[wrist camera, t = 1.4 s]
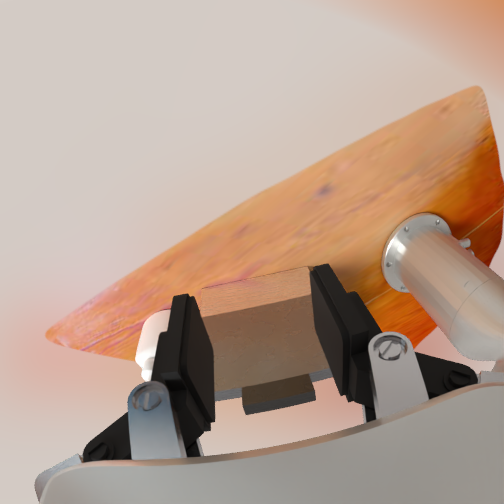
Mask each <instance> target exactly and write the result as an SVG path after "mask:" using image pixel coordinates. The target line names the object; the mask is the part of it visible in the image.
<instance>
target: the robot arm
mask: <svg viewBox="0 0 504 504" xmlns="http://www.w3.org/2000/svg"><path fill="white" fill-rule="evenodd" d="M469 246H470V240H469V239H468V238H465V239H461V240H457V239H456V238H455V237H453V236H452V234H451V230H450V228H449V226H448V225H447V223H446V222H445V221H444V220H443V219H442V218H440V217H439V216H437V215H435V214H432V213H420V214H416V215H413V216H411V217H409V218H408V219H406V220H405V221H403V222H402V223H401V224H400V225H399V226H398V227H397V228H396V229H395V230H394V231H393V233H392V234H391V235H390V237H389V239H388V241H387V243H386V245H385V247H384V250H383V254H382V262H381V266H382V272H383V275H384V278H385V279H386V281H387V282H388V283H389V285H390V286H391V287H392V288H394V289H395V290H397V291H400V292H406V293H409V292H410V293H411V294H412V295H413V296H414V298H415V299H416V300H417V301H418V302H419V303H420V305H421V306H422V307H423V308H424V309H425V311H426V312H427V313H428V314H429V315H430V317H431V318H432V319H433V320H434V322H435V323H436V324H437V325H438V327H439V328H440V329H441V330H442V332H443V333H444V334H445V335H446V336H447V338H448V339H449V340H450V342H451V343H452V344H453V345H454V347H455V348H456V349H457V350H458V351H459V353H461V354H462V355H463V356H465V357H467V358H469V359H472V360H477V361H496V364H495V366H494V368H493V369H492V371H491V372H489V371H481V372H480V374H476V373H475V372H474V370H472V369H471V368H470V367H468V366H466V365H463V364H460V363H455V362H452V361H447V360H444V359H440V358H436V357H432V356H428V355H425V354H421V353H417V352H414V349H413V346H412V344H411V342H410V340H409V339H408V338H407V337H406V336H404V335H402V334H400V333H397V332H384V333H382V331H381V329H380V328H379V326H378V325H377V323H376V321H375V320H374V318H373V317H372V315H371V314H370V312H369V310H368V309H367V307H366V306H365V304H364V303H363V301H362V300H361V298H360V297H359V295H358V294H357V292H355V291H354V292H350V293H346V291H345V290H344V288H343V286H342V285H341V283H340V281H339V280H338V278H337V277H336V275H335V273H334V272H333V270H332V269H331V267H330V265H329V264H323V265H319V266H315V267H314V271H310V272H309V276H310V286H311V296H312V306H313V317H314V326H315V331H316V334H317V336H318V339H319V342H320V344H321V347H322V349H323V352H324V354H325V357H326V359H327V362H328V365H329V367H330V370H331V372H332V375H333V378H334V380H335V383H336V386H337V388H338V391H339V393H340V395H341V396H343V395H346V398H347V400H348V402H351V401H354V402H356V403H359V404H362V409H363V418H364V424H361V425H359V426H355V427H352V428H348V429H345V430H342V431H338V432H334V433H331V434H327V435H323V436H319V437H315V438H311V439H307V440H302V441H298V442H293V443H289V444H284V445H279V446H274V447H269V448H263V449H257V450H250V451H244V452H237V453H230V454H221V455H212V456H204V454H203V451H202V447H201V444H200V441H199V437H200V436H201V435H202V434H203V433H204V431H211V422H215V392H214V351H213V347H212V344H211V341H210V339H209V336H208V333H207V330H206V328H205V325H204V322H203V319H202V317H201V314H200V311H199V308H198V305H197V303H196V300H195V297H194V296H191V297H190V296H189V294H182V295H177V296H174V297H173V301H172V306H171V311H170V317H169V322H168V328H167V331H164V332H161V333H160V334H159V337H158V342H157V348H156V353H155V358H154V364H153V369H152V375H151V381H147V382H144V383H142V384H139V385H138V386H137V387H135V388H134V389H133V390H132V392H131V393H130V395H129V397H128V402H127V403H128V412H127V413H125V414H124V415H123V416H122V417H120V418H119V419H118V420H117V421H115V422H114V423H113V424H112V425H110V426H109V427H108V428H106V429H105V430H104V431H103V432H101V433H100V434H99V435H97V436H96V437H95V438H94V439H92V440H91V441H90V442H89V443H88V444H87V445H86V447H85V449H84V452H83V455H81V456H80V455H79V454H76V455H74V456H73V457H71V458H69V459H67V460H65V461H63V462H61V463H59V464H57V465H56V466H53V467H52V468H50V469H48V470H46V471H44V472H42V473H41V474H39V475H38V477H37V478H36V481H35V491H36V494H37V497H38V501H39V504H504V280H503V279H502V278H501V277H500V276H498V275H497V274H496V273H495V272H494V271H492V270H491V269H490V268H489V267H488V266H486V265H485V264H484V263H483V262H481V261H480V260H479V259H478V258H476V257H475V256H474V252H473V251H472V250H471V249H469V250H466V249H465V248H467V247H469Z"/></svg>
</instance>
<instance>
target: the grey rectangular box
mask: <svg viewBox="0 0 504 504" xmlns="http://www.w3.org/2000/svg"><path fill="white" fill-rule="evenodd" d="M309 272H310V271H309V269H308V267H307V266H306V267H301V268H297V269H292V270H288V271H283V272H278V273H274V274H269V275H265V276H260V277H255V278H250V279H246V280H241V281H236V282H231V283H227V284H222V285H217V286H212V287H207V288H202V292H201V308H200V314H201V317H206V316H211V315H217V314H222V313H227V312H232V311H237V310H242V309H247V308H251V307H256V306H261V305H266V304H270V303H275V302H279V301H284V300H288V299H293V298H297V297H302V296H306V295H310V294H311V286H310V276H309Z"/></svg>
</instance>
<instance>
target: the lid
mask: <svg viewBox="0 0 504 504" xmlns="http://www.w3.org/2000/svg"><path fill="white" fill-rule="evenodd" d="M202 319H203V322H204V325H205V328H206V330H207V333H208V336H209V339H210V341H211V344H212V347H213V351H214V392H215V401H221V400H227V399H234V398H240V397H242V403H243V408H244V411H245V414H246V415H249V414H254V413H260V412H265V411H270V410H275V409H280V408H285V407H290V406H294V405H298V404H302V403H307V402H310V401H315V400H316V396H315V390H314V387H313V384H312V382H315V381H319V380H323V379H327V378H331V377H333V375H332V372H331V370H330V367H329V365H328V362H327V359H326V357H325V354H324V352H323V349H322V347H321V344H320V342H319V339H318V336H317V334H316V331H315V326H314V317H313V306H312V296H311V294H310V295H306V296H302V297H297V298H293V299H288V300H284V301H279V302H275V303H270V304H266V305H261V306H256V307H251V308H247V309H242V310H237V311H232V312H227V313H222V314H217V315H211V316H206V317H202Z"/></svg>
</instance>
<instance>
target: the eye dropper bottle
mask: <svg viewBox="0 0 504 504" xmlns="http://www.w3.org/2000/svg"><path fill="white" fill-rule="evenodd" d="M170 311H171V309H168V310H162V311H159V312H156V313H154V314H153V315H151V316H150V317H149V318H148V319H147V320H146V321H145V323H144V325H143V329H142V332H141V336H140V340H139V344H138V348H137V352H136V358H135V360H136V362H137V364H138V365H139V366H140V367H142V368H143V369H142V377H143V379H144V380H145V381H151V375H152V369H153V364H154V358H155V353H156V348H157V342H158V337H159V334H160V333H161V332H164V331H167V328H168V322H169V317H170Z"/></svg>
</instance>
